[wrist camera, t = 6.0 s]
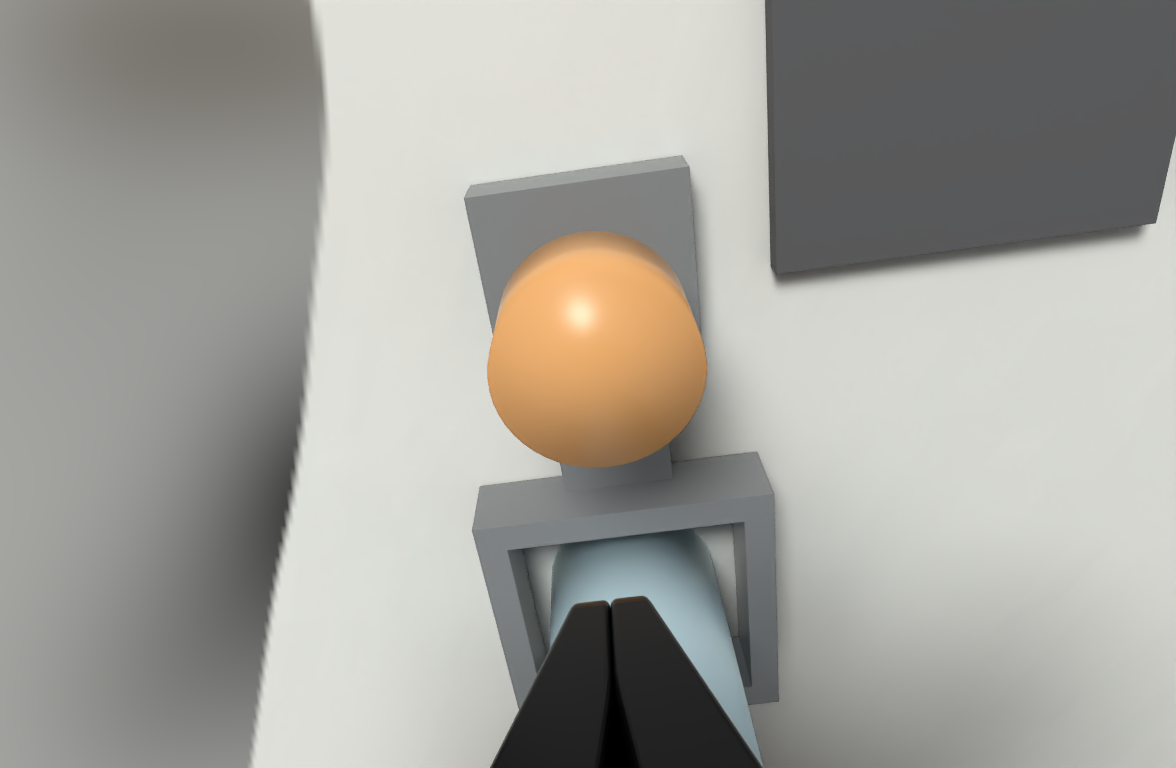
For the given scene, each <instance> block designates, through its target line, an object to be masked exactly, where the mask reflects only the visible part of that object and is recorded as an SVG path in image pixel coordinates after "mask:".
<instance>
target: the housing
mask: <svg viewBox="0 0 1176 768" xmlns="http://www.w3.org/2000/svg"><path fill="white" fill-rule="evenodd" d="M464 201H465V206H466V210H467V215H468V220H469V224H470V229H471V234H472V238H473V243H474V248H475V253H476V257H477V262H478V267H479V271H480V276H481V281H482V285H483V290H484V295H485V300H486V304H487V309H488V314H489V318H490V323H491V328H492V333H494V329H495V324H496V319H497V315H498V310H499V305H500V301H501V298H502V295H503V291H504V289H505V287H506V285H507V282H508V280H509V279H510V277H511V276H512V274H513V272H514V271H515V269H516V268H517V267H518V266H519V265H520V264H521V263H522V261H523V260H524V259H525V258H527V257H528V256H529V255H530V254H531V253H532V252H534V251H535V250H537V249H538V248H540V247H541V246H543V245H544V244H546V243H548V242H550V241H552V240H554V239H557V238H560V237H563V236H566V235H569V234H574V233H579V232H590V231H599V232H610V233H615V234H620V235H623V236H626V237H629V238H632V239H634V240H637V241H639V242H641V243H643V244H645V245H646V246H648V247H649V248H651V249H652V250H654V251H655V252H656V253H657V254H658V255H660V256H661V257H662V258H663V259H664V260H665V261H666V262H667V263H668V265H669V266H670V267H671V268H672V270H673V271H674V273H675V274H676V276H677V277H678V279H679V281H680V283H681V285H682V288H683V290H684V293H685V295H686V298H687V301H688V303H689V306H690V309H691V311H692V314H693V316H694V319H695V322H696V324H697V327H698V330H699V332H700V335H701V326H700V312H699V297H698V283H697V269H696V254H695V240H694V226H693V211H692V197H691V183H690V168H689V165H688V164H687V162H686V161H685V159H684V158H683V156H682V155H681V156H674V157H667V158H660V159H653V160H646V161H639V162H632V163H625V164H618V165H611V166H603V167H596V168H589V169H582V170H575V171H568V172H561V173H554V174H547V175H540V176H533V177H526V178H519V179H512V180H505V181H498V182H491V183H484V184H477V185H470V187H469V189H468V191H467V193H466V195H465V197H464ZM560 465H561V471H562V476H558V477H550V478H542V479H534V480H526V481H518V482H510V483H502V484H494V485H486V486H480V488H479V494H478V500H477V505H476V511H475V517H474V522H473V528H472V532H473V536H474V540H475V544H476V548H477V552H478V555H479V559H480V563H481V567H482V571H483V574H484V578H485V582H486V586H487V590H488V593H489V597H490V601H491V605H492V609H493V613H494V616H495V620H496V624H497V628H498V632H499V635H500V639H501V643H502V647H503V651H504V654H505V658H506V662H507V666H508V670H509V674H510V677H511V681H512V685H513V689H514V693H515V696H516V700H517V704H518V708H519V709H520V707H521V705H522V703H523V701H524V699H525V697H526V695H527V693H528V691H529V689H530V688H531V686H532V684H533V682H534V680H535V678H536V676H537V674H538V672H539V670H540V668H541V666H542V664H543V662H544V660H545V658H546V653H545V648H544V644H543V639H542V635H541V630H540V626H539V622H538V617H537V613H536V608H535V604H534V599H533V595H532V591H531V586H530V582H529V577H528V573H527V568H526V564H525V560H524V555H523V551H522V549H523V548H531V547H539V546H547V545H556V544H564V543H572V542H580V541H589V540H597V539H605V538H614V537H622V536H630V535H638V534H647V533H655V532H663V531H671V530H680V529H688V528H696V527H705V526H713V525H721V524H729V523H733V538H734V556H735V574H736V592H737V610H738V628H739V637H732V638H731V639H732V643H733V647H734V651H735V655H736V659H737V663H738V667H739V671H740V675H741V679H742V683H743V687H744V691H745V696H746V700H747V704H748V705H752V704H761V703H770V702H779V695H778V650H777V605H776V560H775V515H774V492H773V490H772V488H771V485H770V483H769V480H768V478H767V475H766V473H765V470H764V468H763V465H762V463H761V460H760V458H759V455H758V453H757V452H751V453H743V454H735V455H727V456H719V457H711V458H703V459H695V460H687V461H679V462H671V454H670V444H669V443H668V444H667V445H665V446H664V447H662V448H661V449H659V450H658V451H656V452H654V453H652V454H651V455H649V456H646V457H644V458H642V459H639V460H637V461H634V462H630V463H627V464H624V465H618V466H613V467H601V468H590V467H579V466H572V465H568V464H564V463H560Z"/></svg>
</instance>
